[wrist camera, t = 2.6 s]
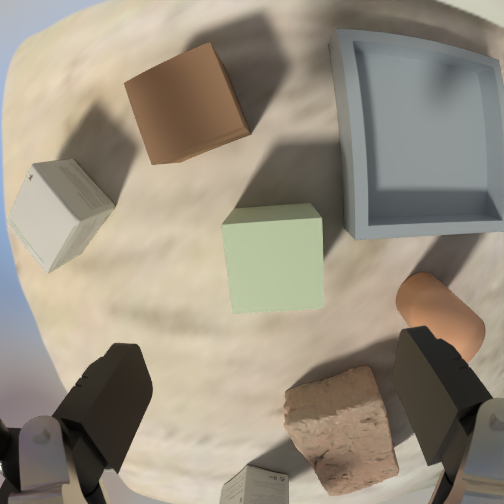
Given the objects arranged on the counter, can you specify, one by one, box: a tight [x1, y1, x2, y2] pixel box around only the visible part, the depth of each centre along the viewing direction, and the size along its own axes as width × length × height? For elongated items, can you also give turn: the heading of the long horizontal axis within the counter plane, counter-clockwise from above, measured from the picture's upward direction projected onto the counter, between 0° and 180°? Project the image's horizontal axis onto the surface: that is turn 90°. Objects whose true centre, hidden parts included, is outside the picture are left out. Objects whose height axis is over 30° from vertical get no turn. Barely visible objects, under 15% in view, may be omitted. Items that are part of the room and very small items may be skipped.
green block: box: [221, 203, 323, 313], centre depth 18 cm, size 5×5×5 cm
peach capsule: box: [396, 272, 485, 363], centre depth 17 cm, size 4×4×7 cm
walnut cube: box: [124, 42, 251, 165], centre depth 16 cm, size 5×5×5 cm
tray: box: [328, 29, 504, 240], centre depth 16 cm, size 13×13×3 cm
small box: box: [7, 159, 115, 274], centre depth 18 cm, size 6×6×5 cm
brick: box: [283, 366, 399, 496], centre depth 24 cm, size 17×8×5 cm, turn 25°
